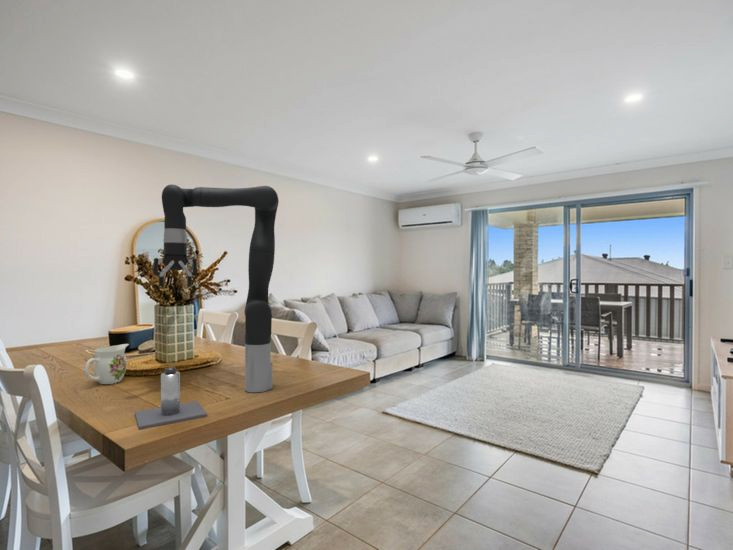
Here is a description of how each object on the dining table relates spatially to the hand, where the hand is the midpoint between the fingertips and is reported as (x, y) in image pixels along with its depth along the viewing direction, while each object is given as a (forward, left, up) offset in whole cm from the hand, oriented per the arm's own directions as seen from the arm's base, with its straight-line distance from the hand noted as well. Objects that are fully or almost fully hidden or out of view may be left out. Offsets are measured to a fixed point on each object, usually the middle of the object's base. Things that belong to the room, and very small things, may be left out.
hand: (175, 287), depth 143 cm
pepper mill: (+5, +23, -37) cm, 44 cm away
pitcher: (+20, -28, -38) cm, 51 cm away
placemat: (+5, +23, -38) cm, 45 cm away
